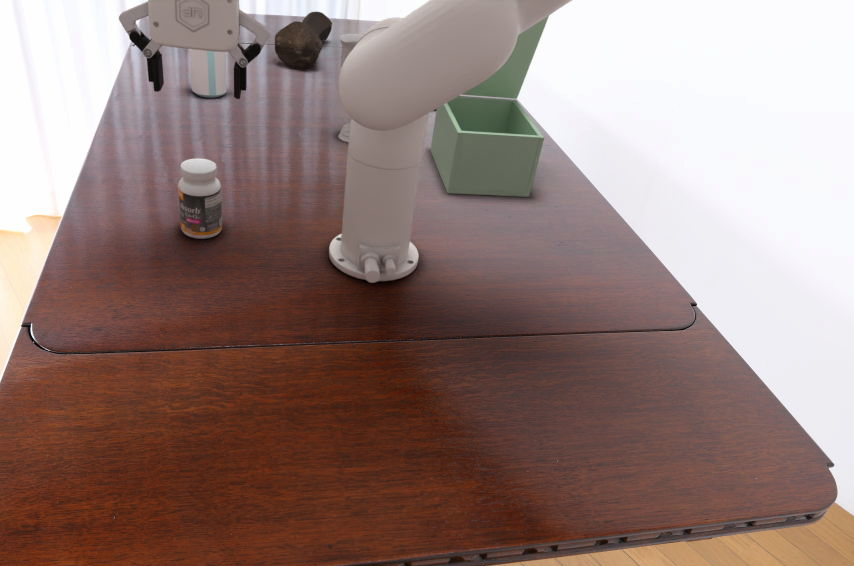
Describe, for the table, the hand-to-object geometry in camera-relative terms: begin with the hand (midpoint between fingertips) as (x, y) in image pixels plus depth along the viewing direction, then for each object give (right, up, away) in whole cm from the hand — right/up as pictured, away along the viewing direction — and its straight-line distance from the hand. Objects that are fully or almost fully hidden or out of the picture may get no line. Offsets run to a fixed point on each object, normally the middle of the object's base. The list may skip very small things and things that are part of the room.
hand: (198, 91), depth 86 cm
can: (-13, +18, +54) cm, 59 cm away
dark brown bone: (+2, +37, +83) cm, 91 cm away
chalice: (+16, +6, +44) cm, 47 cm away
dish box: (+40, -2, +37) cm, 55 cm away
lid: (+41, +16, +30) cm, 53 cm away
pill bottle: (-3, -16, +11) cm, 20 cm away
